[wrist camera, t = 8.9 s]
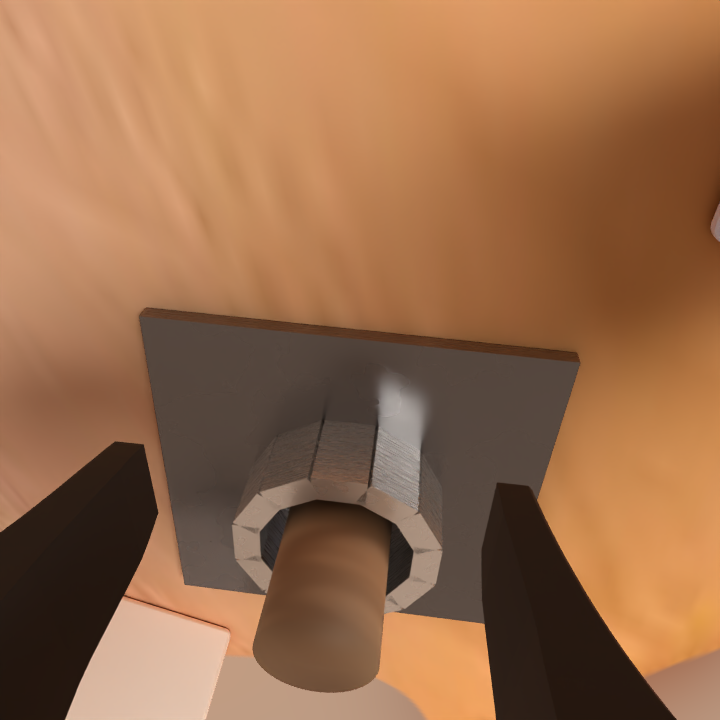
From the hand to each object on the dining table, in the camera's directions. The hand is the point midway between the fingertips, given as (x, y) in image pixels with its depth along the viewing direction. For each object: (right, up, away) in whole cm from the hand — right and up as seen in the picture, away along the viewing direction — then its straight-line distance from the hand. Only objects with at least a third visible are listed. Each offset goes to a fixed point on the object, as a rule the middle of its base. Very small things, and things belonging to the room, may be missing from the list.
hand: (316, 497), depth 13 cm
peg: (0, -3, +12) cm, 13 cm away
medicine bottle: (-10, -13, +21) cm, 27 cm away
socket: (0, -2, +13) cm, 13 cm away
